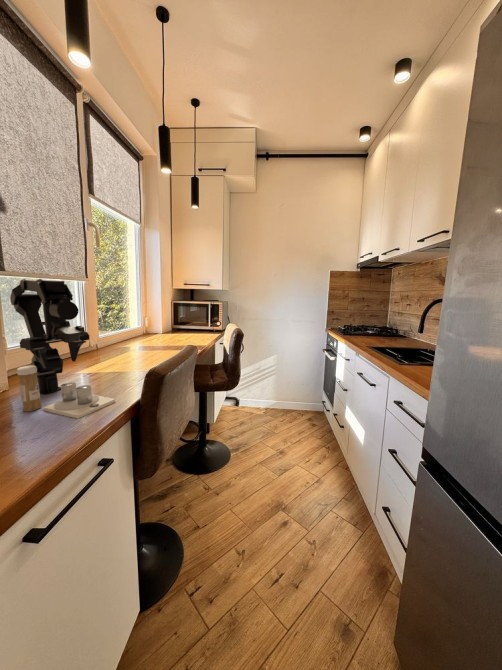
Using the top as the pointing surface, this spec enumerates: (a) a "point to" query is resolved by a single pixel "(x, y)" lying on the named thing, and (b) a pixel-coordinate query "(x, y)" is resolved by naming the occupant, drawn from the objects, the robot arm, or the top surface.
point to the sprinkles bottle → (29, 388)
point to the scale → (79, 406)
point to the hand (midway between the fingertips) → (60, 364)
